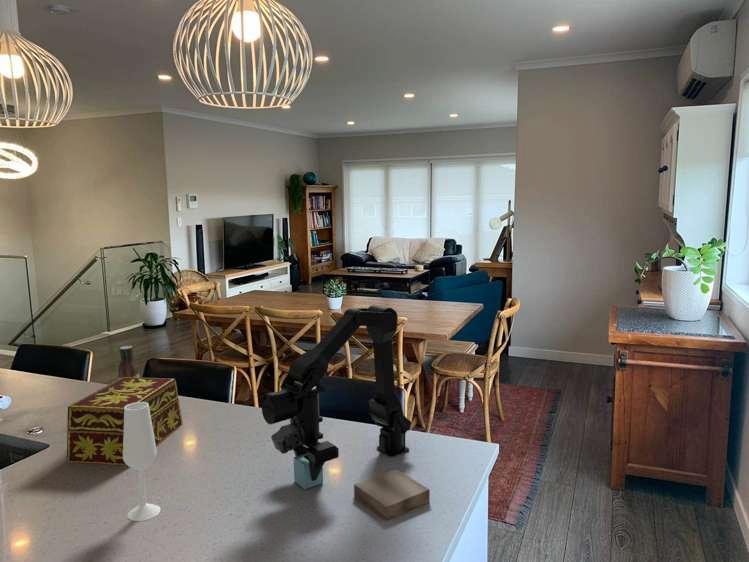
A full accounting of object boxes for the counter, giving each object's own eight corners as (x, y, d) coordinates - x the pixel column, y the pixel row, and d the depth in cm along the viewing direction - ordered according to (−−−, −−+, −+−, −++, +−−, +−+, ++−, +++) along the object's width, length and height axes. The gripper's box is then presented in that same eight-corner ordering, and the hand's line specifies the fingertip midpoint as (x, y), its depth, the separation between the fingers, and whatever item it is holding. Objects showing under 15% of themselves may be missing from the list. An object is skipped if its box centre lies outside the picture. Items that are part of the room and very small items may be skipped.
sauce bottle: (138, 400, 192) (134, 343, 189) (145, 404, 187) (141, 346, 185) (118, 404, 188) (113, 346, 185) (124, 409, 183) (120, 350, 180)
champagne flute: (163, 502, 126) (156, 399, 122) (157, 519, 119) (149, 410, 116) (131, 505, 124) (123, 401, 121) (123, 522, 118) (115, 412, 115)
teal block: (312, 474, 138) (311, 451, 137) (323, 483, 134) (322, 459, 133) (294, 481, 135) (293, 457, 134) (304, 489, 131) (303, 464, 130)
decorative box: (126, 422, 173) (122, 375, 171) (183, 424, 171) (180, 377, 168) (66, 463, 146) (61, 407, 144) (133, 466, 144) (129, 410, 141)
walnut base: (395, 481, 134) (395, 469, 134) (429, 502, 125) (429, 489, 124) (354, 496, 127) (354, 484, 127) (386, 520, 118) (386, 506, 117)
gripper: (257, 409, 135) (260, 470, 137) (295, 434, 120) (297, 503, 122) (299, 399, 141) (300, 458, 143) (339, 422, 126) (340, 487, 128)
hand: (308, 475), depth 134 cm, fingers closed on teal block, 5 cm apart
